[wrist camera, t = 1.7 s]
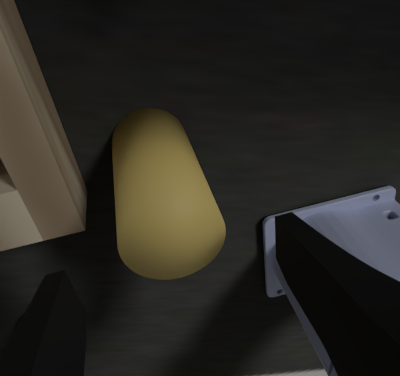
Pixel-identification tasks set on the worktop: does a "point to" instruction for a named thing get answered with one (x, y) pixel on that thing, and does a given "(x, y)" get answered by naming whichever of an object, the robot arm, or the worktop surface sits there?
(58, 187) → the socket block
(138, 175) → the dowel
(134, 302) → the worktop surface
